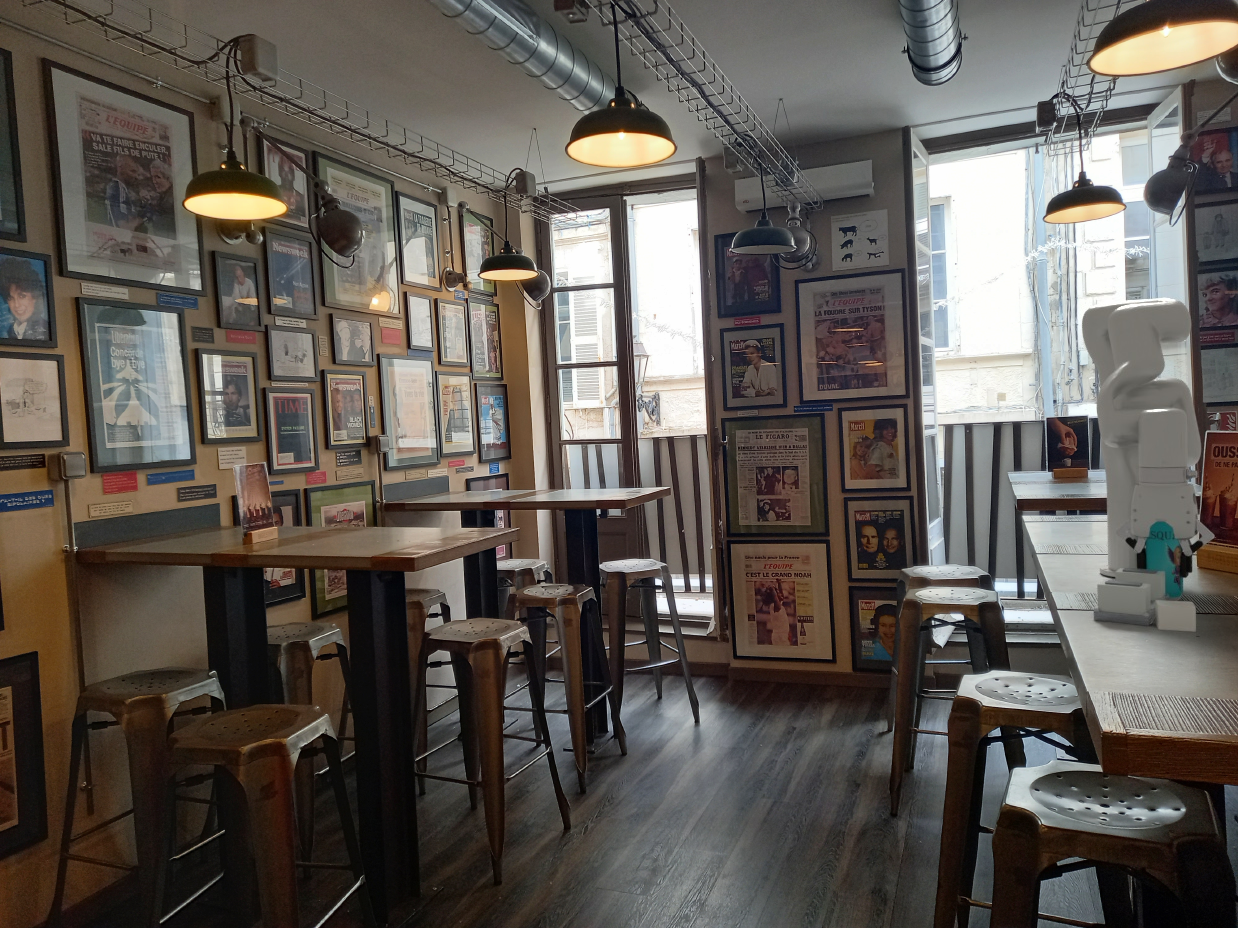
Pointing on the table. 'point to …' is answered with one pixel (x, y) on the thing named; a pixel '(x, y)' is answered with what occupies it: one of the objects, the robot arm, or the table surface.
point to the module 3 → (1175, 615)
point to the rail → (1129, 615)
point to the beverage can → (1165, 557)
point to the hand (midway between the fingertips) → (1164, 573)
